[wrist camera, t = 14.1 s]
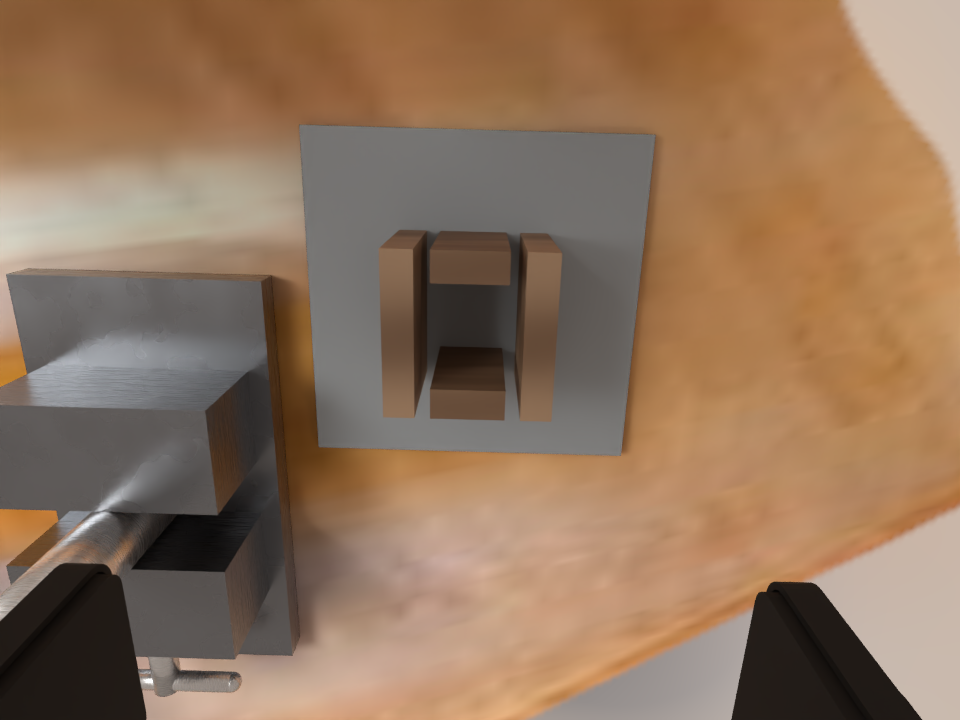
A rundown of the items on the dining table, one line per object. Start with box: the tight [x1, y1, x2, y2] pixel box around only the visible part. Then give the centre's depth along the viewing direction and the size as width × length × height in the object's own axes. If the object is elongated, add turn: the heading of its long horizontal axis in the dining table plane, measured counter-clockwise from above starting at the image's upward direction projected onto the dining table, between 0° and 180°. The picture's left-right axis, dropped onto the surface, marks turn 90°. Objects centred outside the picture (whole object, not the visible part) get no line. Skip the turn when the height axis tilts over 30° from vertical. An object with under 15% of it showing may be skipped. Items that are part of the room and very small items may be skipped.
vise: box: [0, 269, 300, 697], centre depth 28 cm, size 22×12×14 cm, turn 178°
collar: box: [379, 230, 562, 422], centre depth 28 cm, size 7×7×6 cm
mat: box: [299, 125, 656, 456], centre depth 31 cm, size 16×16×1 cm
